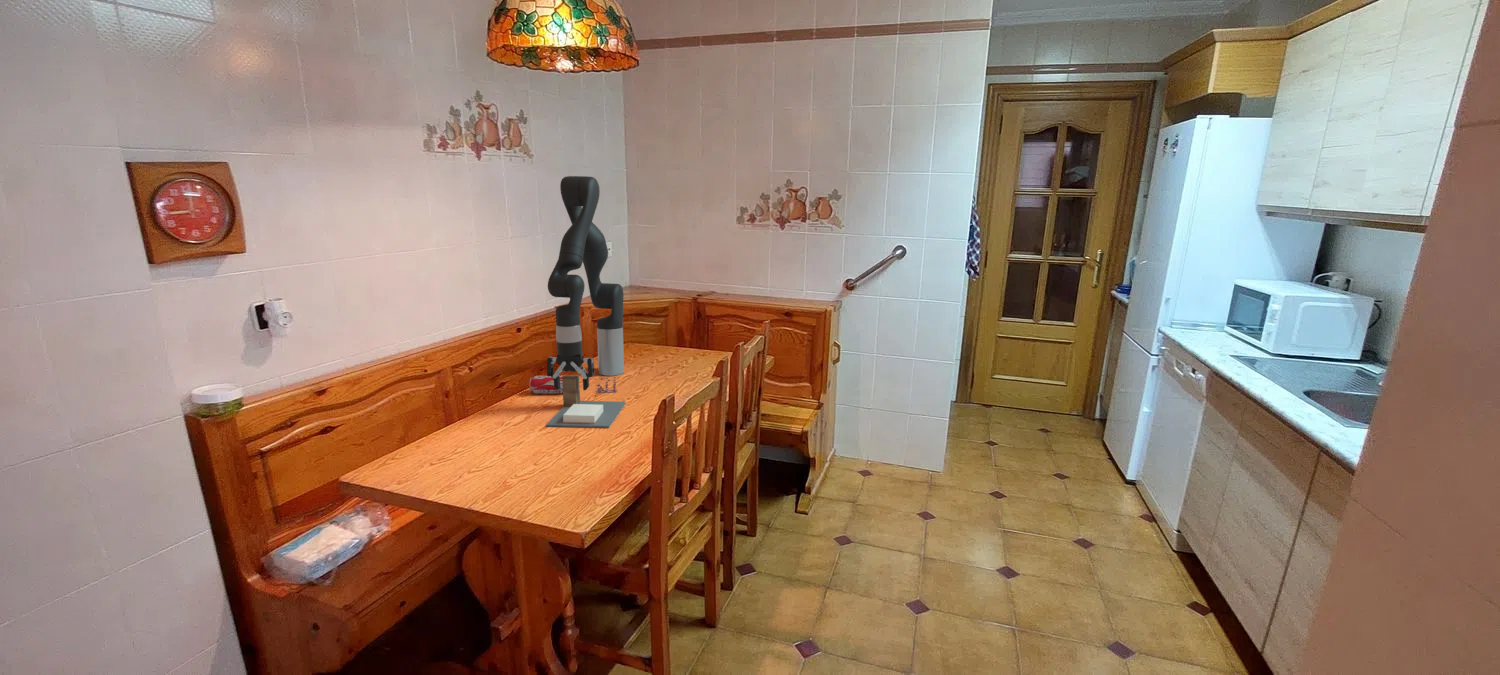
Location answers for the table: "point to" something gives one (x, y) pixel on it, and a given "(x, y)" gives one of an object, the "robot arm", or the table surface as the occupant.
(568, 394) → the block
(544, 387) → the beverage can
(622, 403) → the mat
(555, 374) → the robot arm
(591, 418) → the tile
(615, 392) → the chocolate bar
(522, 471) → the table surface
